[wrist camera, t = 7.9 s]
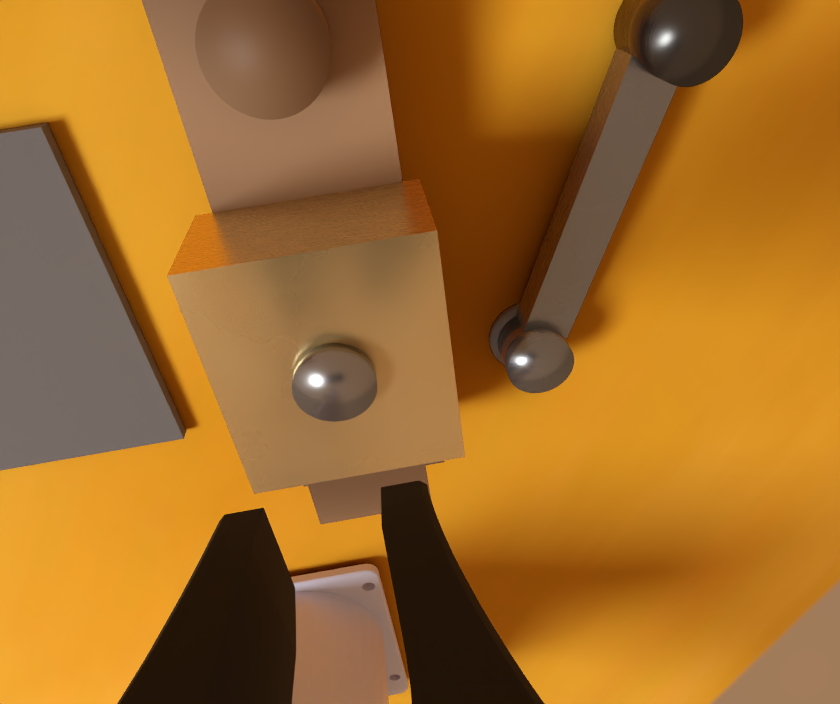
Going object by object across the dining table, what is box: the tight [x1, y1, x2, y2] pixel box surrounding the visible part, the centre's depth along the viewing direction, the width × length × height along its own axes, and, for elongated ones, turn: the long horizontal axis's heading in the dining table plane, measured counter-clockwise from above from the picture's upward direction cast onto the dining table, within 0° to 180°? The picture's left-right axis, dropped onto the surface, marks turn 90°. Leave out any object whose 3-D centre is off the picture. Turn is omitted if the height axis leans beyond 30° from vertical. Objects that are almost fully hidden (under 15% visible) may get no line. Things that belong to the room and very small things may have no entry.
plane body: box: [142, 0, 520, 524], centre depth 16 cm, size 14×9×4 cm, turn 8°
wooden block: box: [167, 179, 465, 494], centre depth 15 cm, size 6×5×3 cm
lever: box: [497, 0, 743, 393], centre depth 17 cm, size 2×11×2 cm, turn 166°
